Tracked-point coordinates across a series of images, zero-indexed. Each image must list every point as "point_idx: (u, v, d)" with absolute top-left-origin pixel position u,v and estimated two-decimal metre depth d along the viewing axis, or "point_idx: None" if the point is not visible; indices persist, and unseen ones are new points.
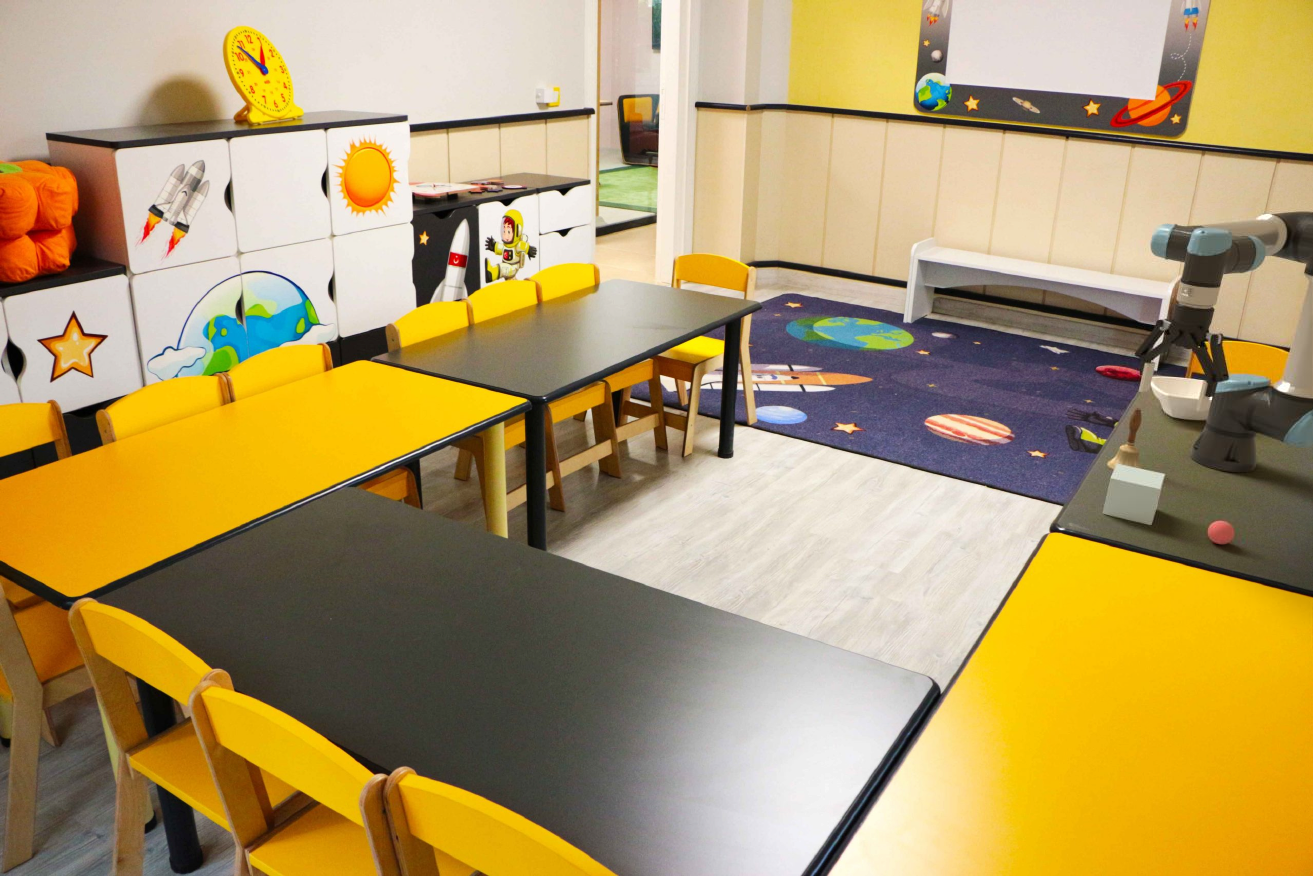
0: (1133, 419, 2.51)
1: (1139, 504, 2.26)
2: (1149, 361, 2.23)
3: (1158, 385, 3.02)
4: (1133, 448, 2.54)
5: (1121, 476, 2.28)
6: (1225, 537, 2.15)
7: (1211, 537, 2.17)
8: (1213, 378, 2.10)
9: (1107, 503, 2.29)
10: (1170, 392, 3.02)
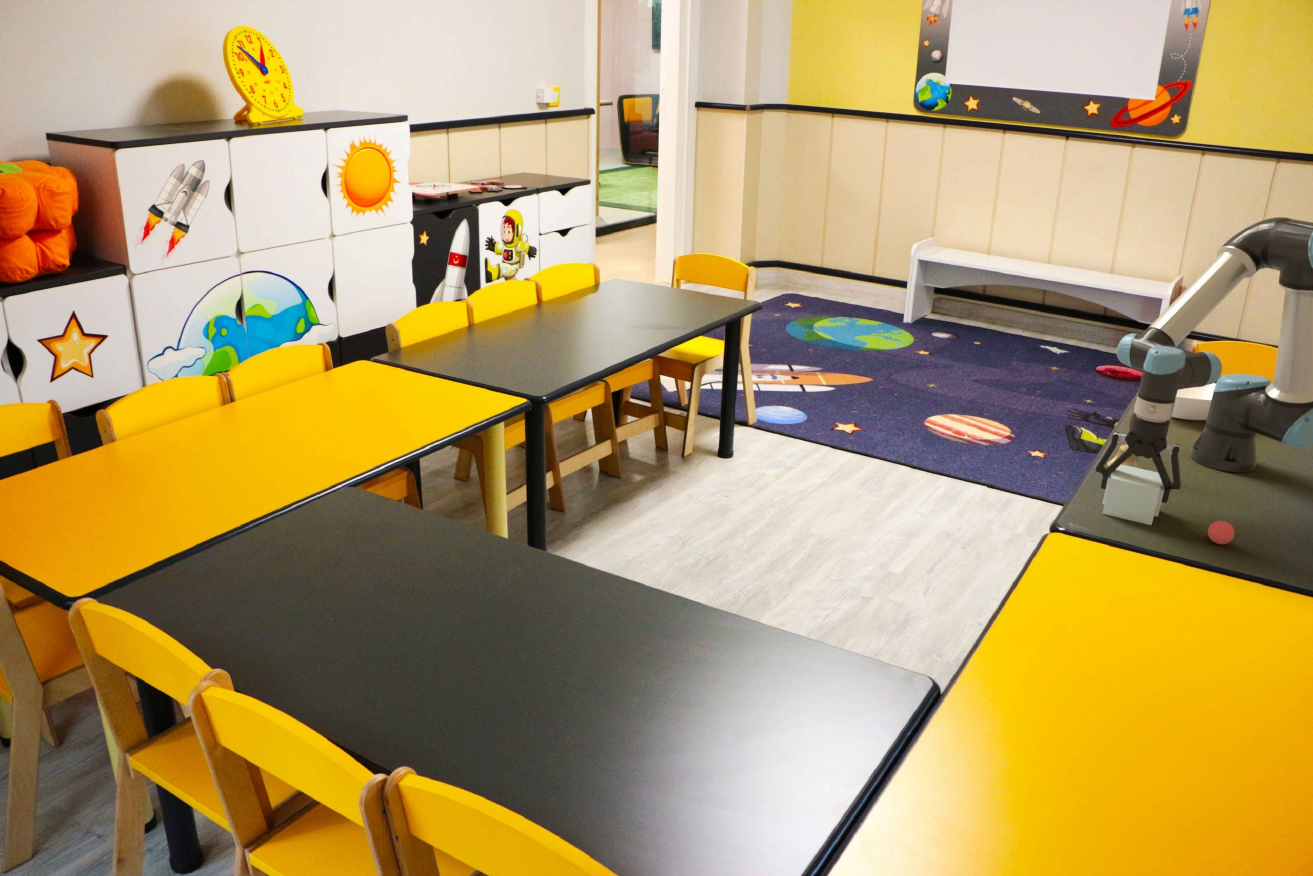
0: None
1: (1139, 504, 2.26)
2: (1109, 474, 2.32)
3: None
4: None
5: (1121, 476, 2.28)
6: (1225, 537, 2.15)
7: (1211, 537, 2.17)
8: (1170, 487, 2.25)
9: (1107, 503, 2.29)
10: None
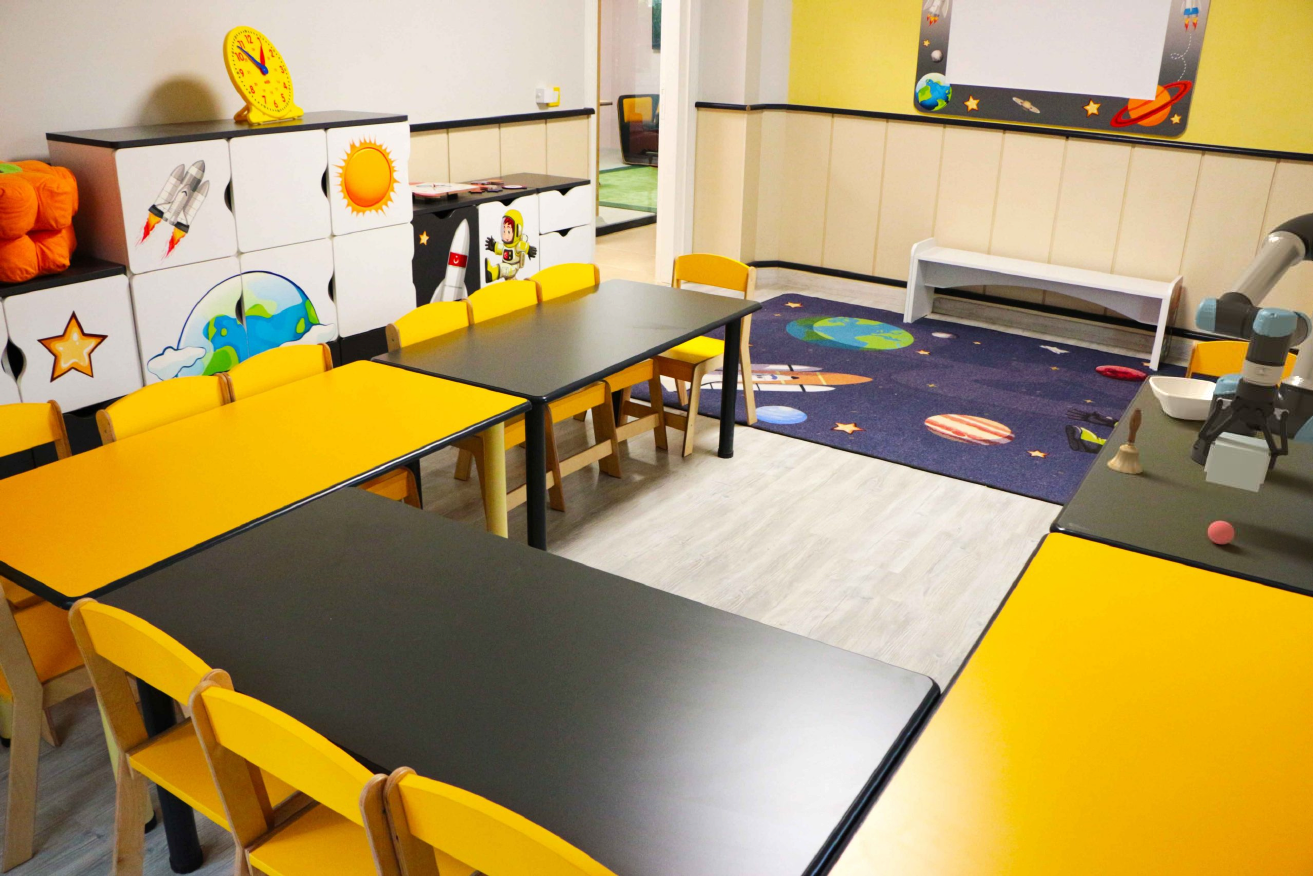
0: (1133, 419, 2.51)
1: (1245, 471, 2.20)
2: (1212, 441, 2.27)
3: (1158, 385, 3.02)
4: (1133, 448, 2.54)
5: (1226, 442, 2.23)
6: (1225, 537, 2.15)
7: (1211, 537, 2.17)
8: (1277, 453, 2.20)
9: (1211, 470, 2.24)
10: (1170, 392, 3.02)
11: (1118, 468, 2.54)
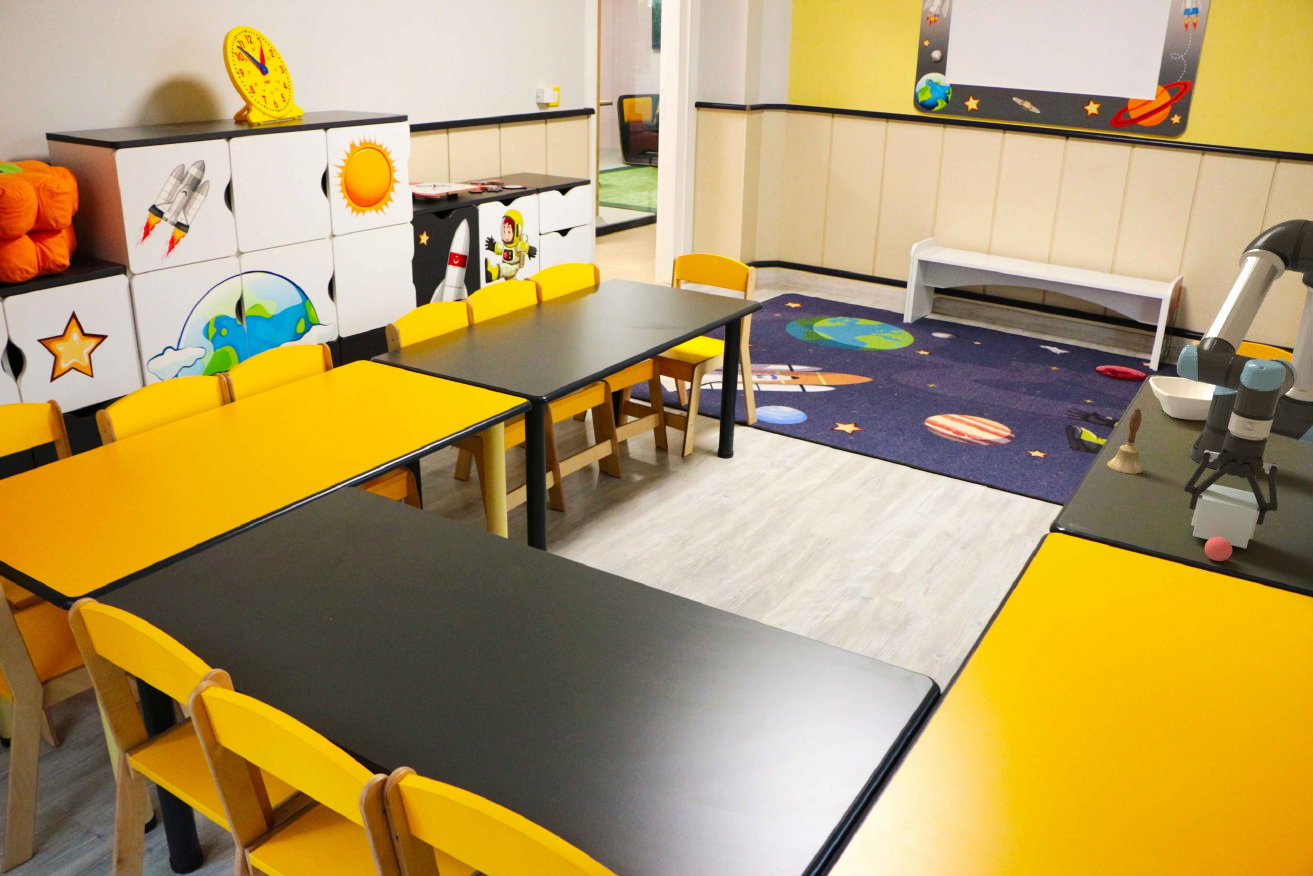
0: (1133, 419, 2.51)
1: (1233, 526, 2.13)
2: (1199, 494, 2.20)
3: (1158, 385, 3.02)
4: (1133, 448, 2.54)
5: (1213, 496, 2.16)
6: None
7: (1212, 538, 2.11)
8: (1266, 508, 2.13)
9: (1198, 525, 2.17)
10: (1170, 392, 3.02)
11: (1118, 468, 2.54)
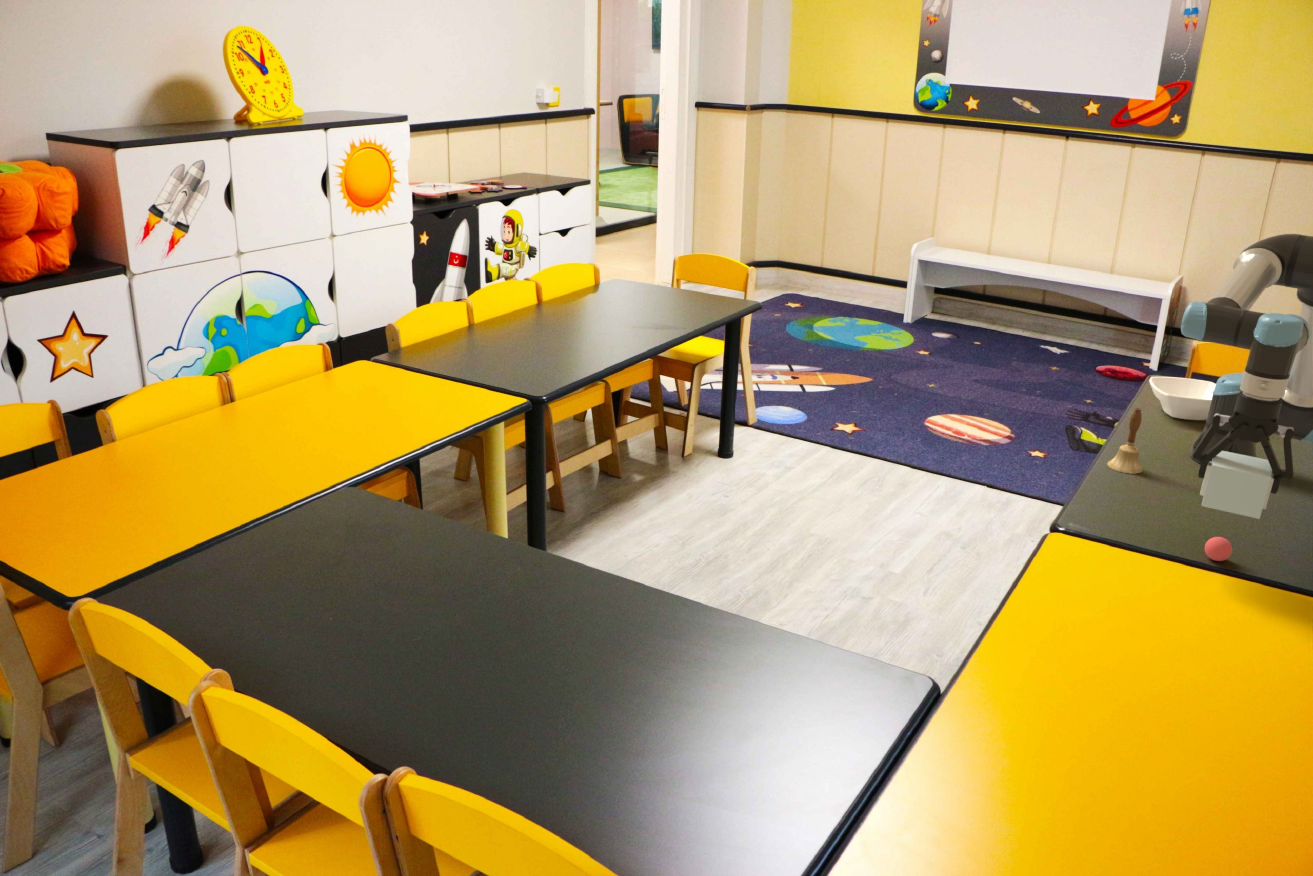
0: (1133, 419, 2.51)
1: (1246, 495, 1.97)
2: (1208, 461, 2.04)
3: (1158, 385, 3.02)
4: (1133, 448, 2.54)
5: (1224, 463, 2.00)
6: None
7: (1212, 538, 2.11)
8: (1281, 475, 1.97)
9: (1207, 494, 2.01)
10: (1170, 392, 3.02)
11: (1118, 468, 2.54)
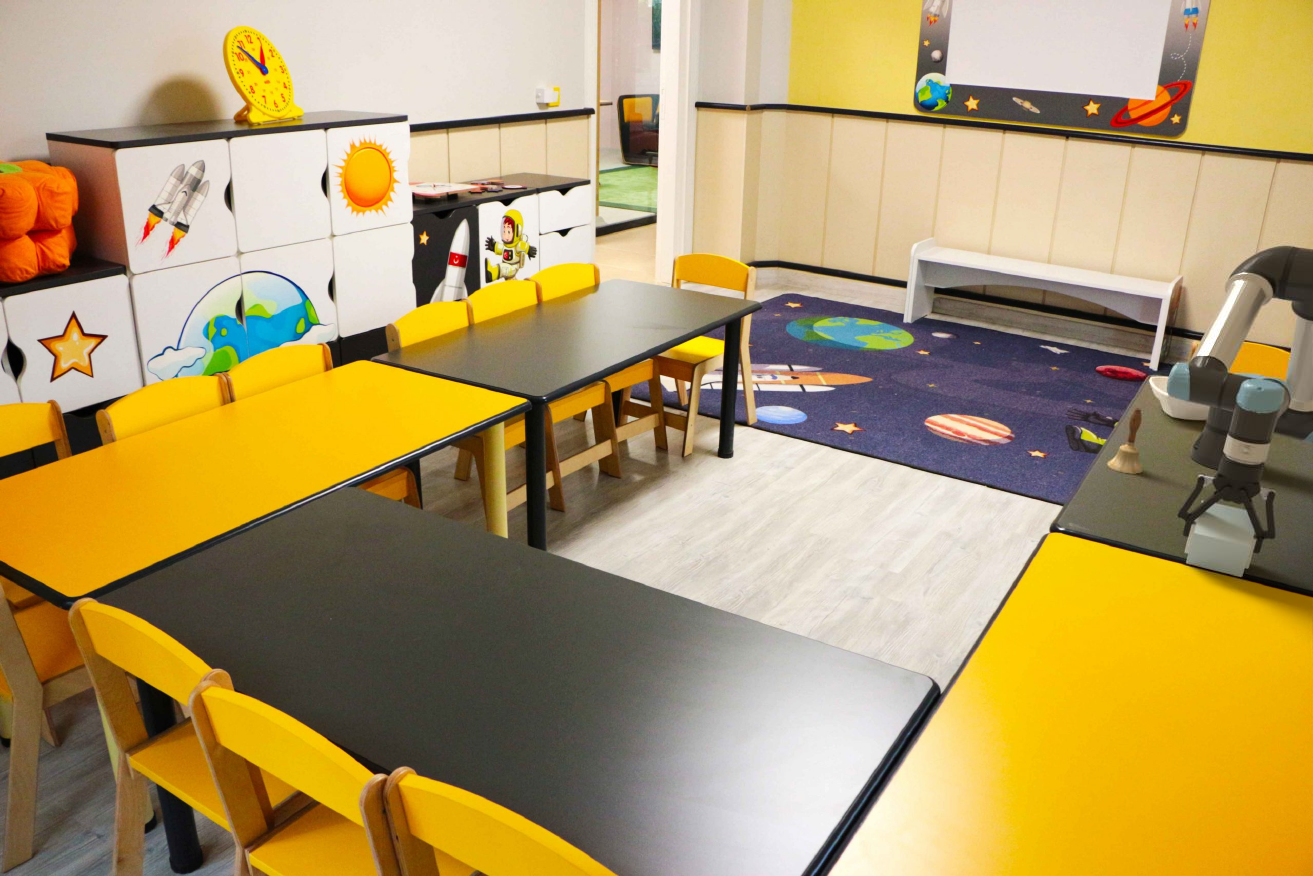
0: (1133, 419, 2.51)
1: (1228, 558, 2.03)
2: (1193, 520, 2.08)
3: (1158, 385, 3.02)
4: (1133, 448, 2.54)
5: (1207, 527, 2.04)
6: None
7: None
8: (1263, 536, 2.02)
9: (1191, 554, 2.07)
10: None
11: (1118, 468, 2.54)
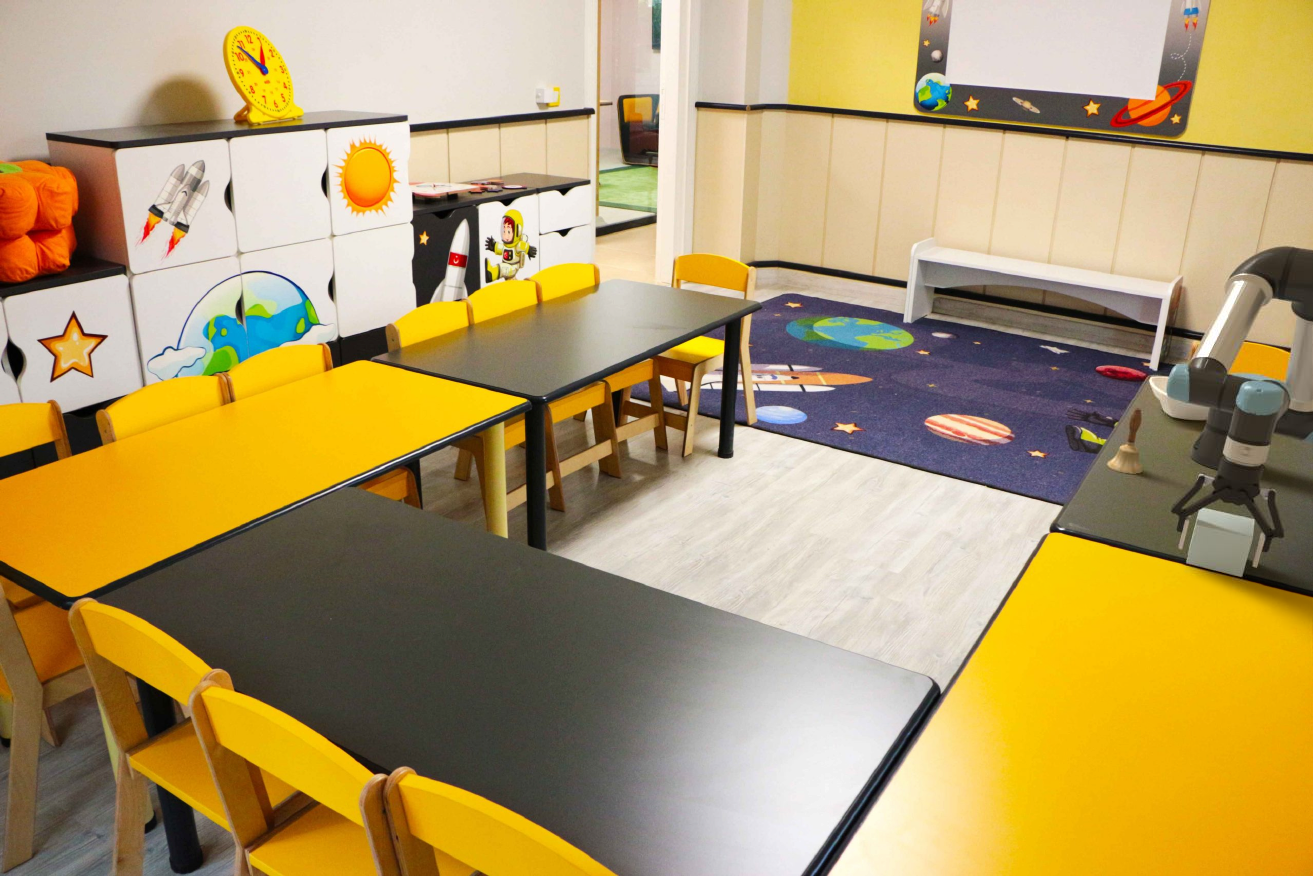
0: (1133, 419, 2.51)
1: (1228, 554, 2.04)
2: (1186, 516, 2.09)
3: (1158, 385, 3.02)
4: (1133, 448, 2.54)
5: (1207, 522, 2.07)
6: None
7: None
8: (1272, 534, 2.01)
9: (1192, 552, 2.08)
10: None
11: (1118, 468, 2.54)
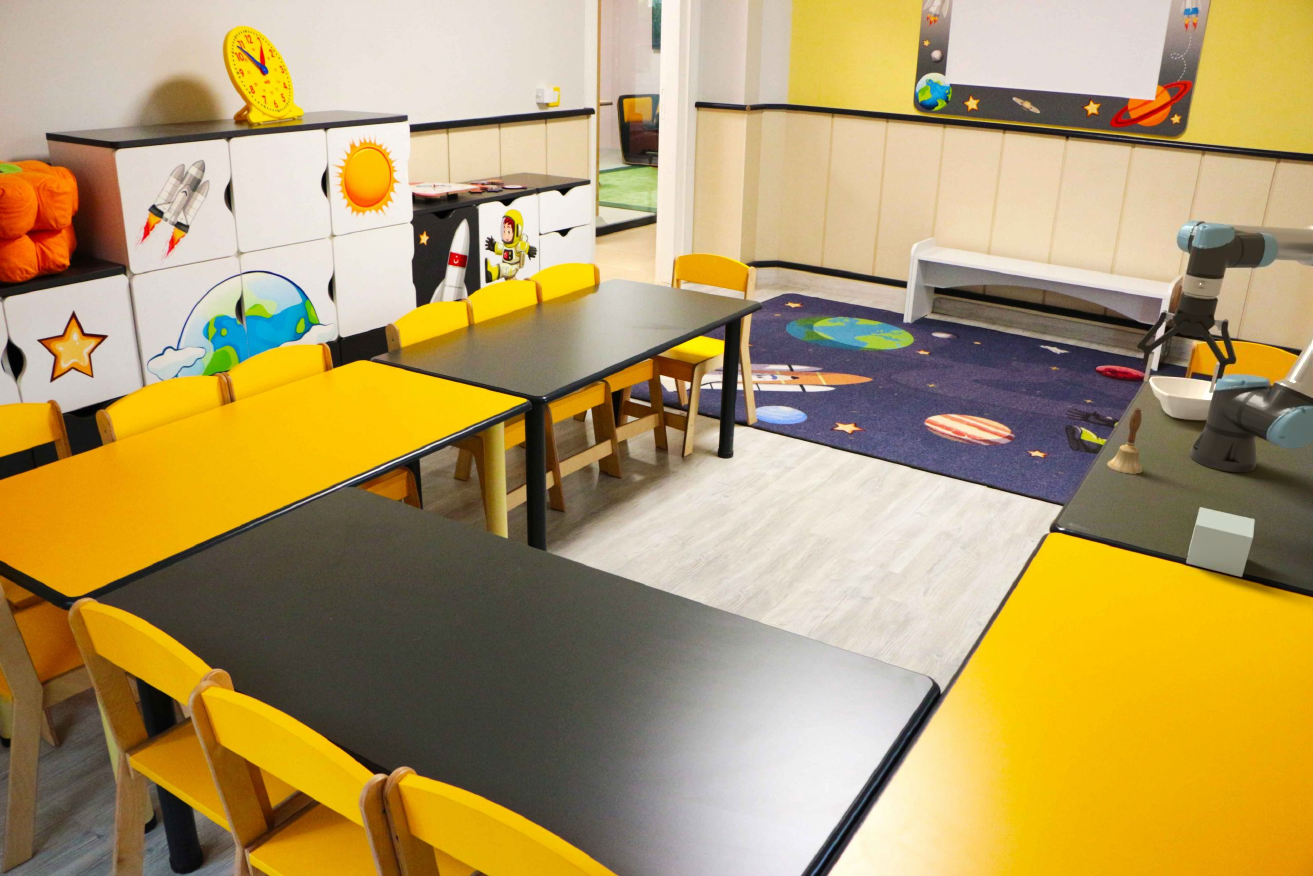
0: (1133, 419, 2.51)
1: (1228, 554, 2.04)
2: (1150, 351, 2.34)
3: (1158, 385, 3.02)
4: (1133, 448, 2.54)
5: (1207, 522, 2.07)
6: None
7: None
8: (1225, 361, 2.26)
9: (1192, 552, 2.08)
10: (1170, 392, 3.02)
11: (1118, 468, 2.54)
